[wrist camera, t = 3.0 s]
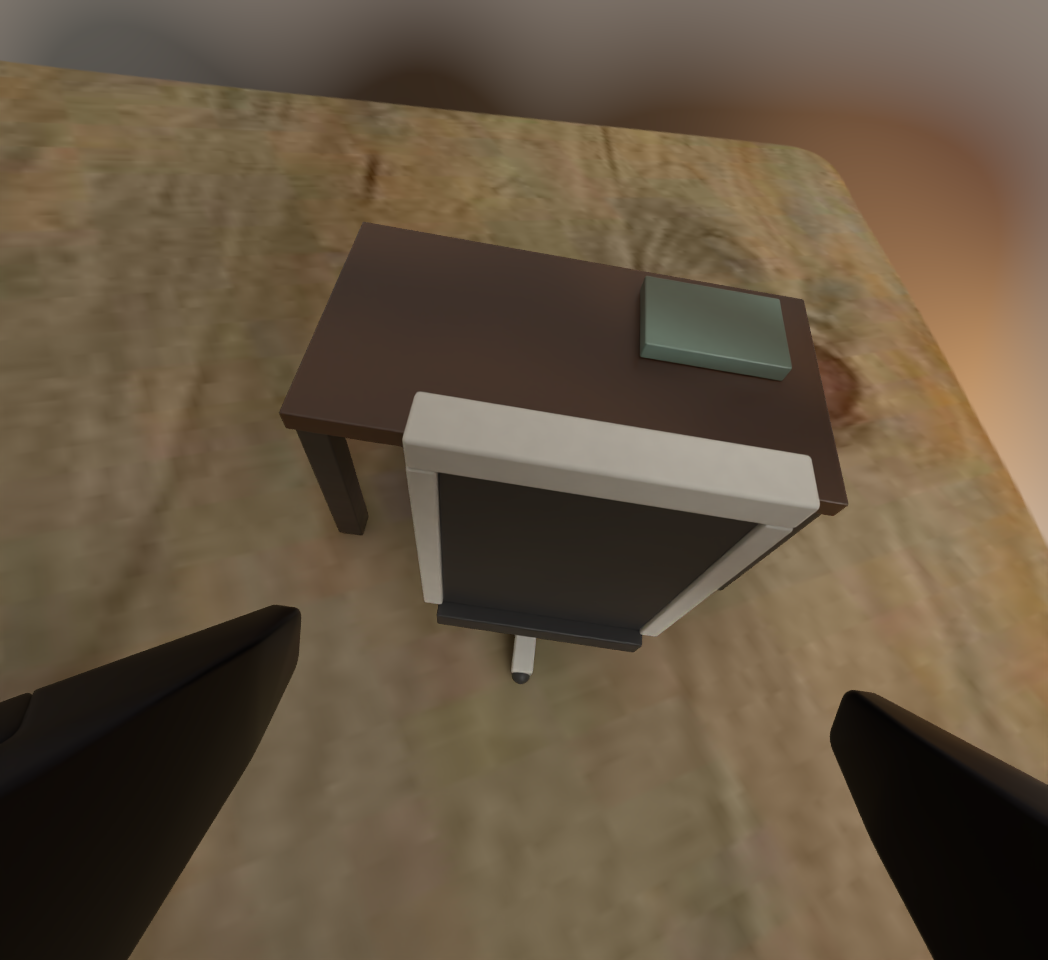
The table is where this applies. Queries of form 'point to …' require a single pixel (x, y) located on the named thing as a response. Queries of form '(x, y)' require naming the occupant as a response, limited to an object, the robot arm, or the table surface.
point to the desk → (551, 355)
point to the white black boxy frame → (584, 521)
